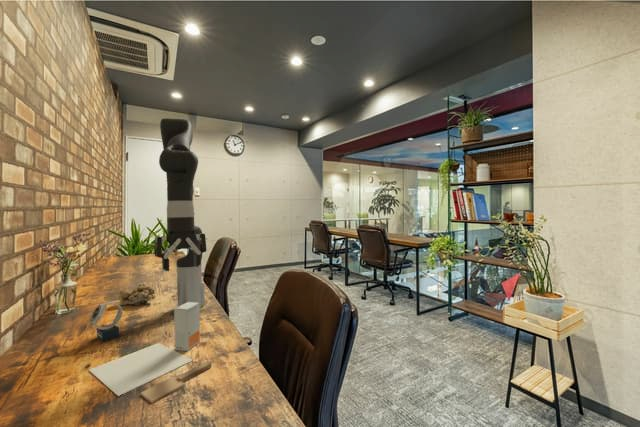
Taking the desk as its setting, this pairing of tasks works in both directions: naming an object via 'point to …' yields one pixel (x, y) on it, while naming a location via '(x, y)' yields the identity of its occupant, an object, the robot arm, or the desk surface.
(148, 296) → the mineral formation
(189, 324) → the skincare box
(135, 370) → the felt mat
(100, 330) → the watch
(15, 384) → the desk surface
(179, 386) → the wooden turner
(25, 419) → the desk surface
